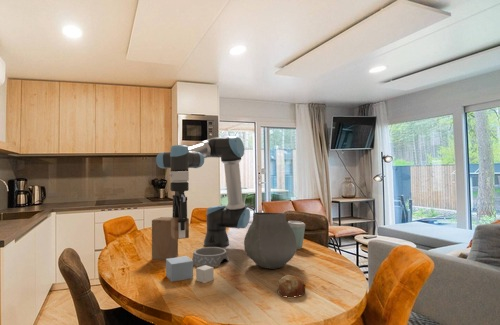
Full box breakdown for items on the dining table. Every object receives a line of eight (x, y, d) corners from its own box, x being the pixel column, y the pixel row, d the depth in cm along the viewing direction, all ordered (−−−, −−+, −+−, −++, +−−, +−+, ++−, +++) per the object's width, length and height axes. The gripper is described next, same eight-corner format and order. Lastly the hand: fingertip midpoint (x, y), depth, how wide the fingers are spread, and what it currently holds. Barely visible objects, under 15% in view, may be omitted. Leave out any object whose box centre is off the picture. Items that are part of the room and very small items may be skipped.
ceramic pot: (301, 261, 152) (300, 209, 152) (291, 277, 129) (290, 216, 130) (253, 257, 160) (253, 208, 160) (236, 271, 137) (235, 214, 138)
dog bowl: (234, 259, 157) (234, 248, 157) (212, 269, 141) (212, 257, 141) (208, 255, 165) (208, 244, 166) (184, 264, 150) (184, 252, 150)
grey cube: (205, 277, 130) (205, 265, 130) (213, 279, 127) (213, 267, 127) (196, 280, 126) (196, 268, 127) (204, 283, 123) (204, 270, 123)
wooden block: (169, 260, 155) (169, 220, 155) (151, 259, 157) (151, 219, 157) (178, 255, 164) (178, 217, 165) (160, 254, 166) (160, 216, 167)
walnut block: (184, 235, 135) (184, 216, 135) (188, 237, 130) (188, 218, 130) (170, 236, 132) (170, 217, 133) (174, 239, 127) (174, 219, 127)
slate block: (186, 271, 137) (186, 255, 137) (193, 278, 129) (193, 261, 129) (166, 275, 132) (166, 258, 133) (171, 281, 125) (171, 264, 125)
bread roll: (280, 297, 117) (270, 278, 117) (303, 284, 118) (294, 265, 118) (285, 309, 108) (275, 288, 107) (311, 295, 108) (301, 274, 108)
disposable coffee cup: (305, 245, 182) (304, 220, 183) (306, 250, 172) (306, 223, 172) (286, 245, 183) (286, 220, 184) (287, 250, 173) (286, 223, 173)
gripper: (165, 181, 138) (165, 233, 138) (177, 182, 122) (177, 241, 121) (181, 181, 142) (181, 231, 141) (195, 182, 125) (195, 239, 125)
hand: (179, 236), depth 131 cm, fingers closed on walnut block, 6 cm apart
